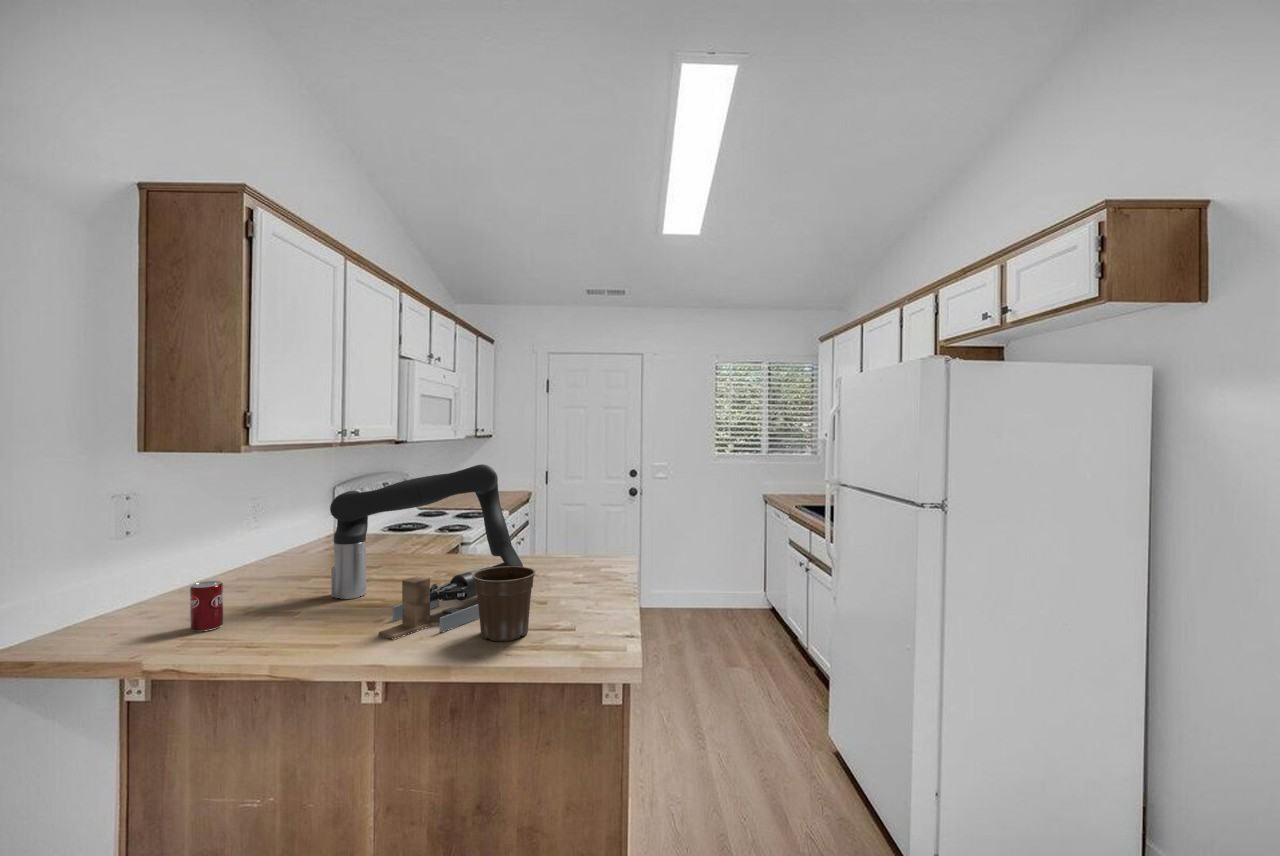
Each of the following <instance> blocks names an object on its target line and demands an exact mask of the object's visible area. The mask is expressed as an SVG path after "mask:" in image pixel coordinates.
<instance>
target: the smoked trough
mask: <svg viewBox="0 0 1280 856" xmlns="http://www.w3.org/2000/svg"><path fill="white" fill-rule="evenodd" d="M438 606H439V607H440V600H439V601H437V600H435V601H432V602H430V610H433V609H436V608H439V607H438ZM435 607H436V608H435ZM432 608H433V609H432ZM441 611H442V613H444V612H446V613H445V614H446V615H443V616H441V617H439V633H440V632H443V631H446V630H448V629H451V628H454V627H456V628H458V627H457V626H459V625H461V626H463V625H462V624H464V625H466V624H465V623H467V622H469V623H471V622H470V621H472V622H474V621H477V620H479V619H478V618H479V607H478V603H477V604H475V605H472V606H469V607H466V608H464V609H459V608H454V607H449V608H446V609H442V610H441ZM449 613H451V614H449ZM401 618H402V603H401V604H398V605H395V606H392V622H394V621H395V620H398V619H401ZM476 619H477V620H476ZM401 620H402V619H401ZM473 620H474V621H473ZM398 621H399V620H398ZM395 622H396V621H395ZM467 624H468V623H467ZM459 627H460V626H459ZM454 629H455V628H454ZM451 630H452V629H451ZM448 631H449V630H448ZM446 632H447V631H446ZM443 633H444V632H443Z"/></svg>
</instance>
